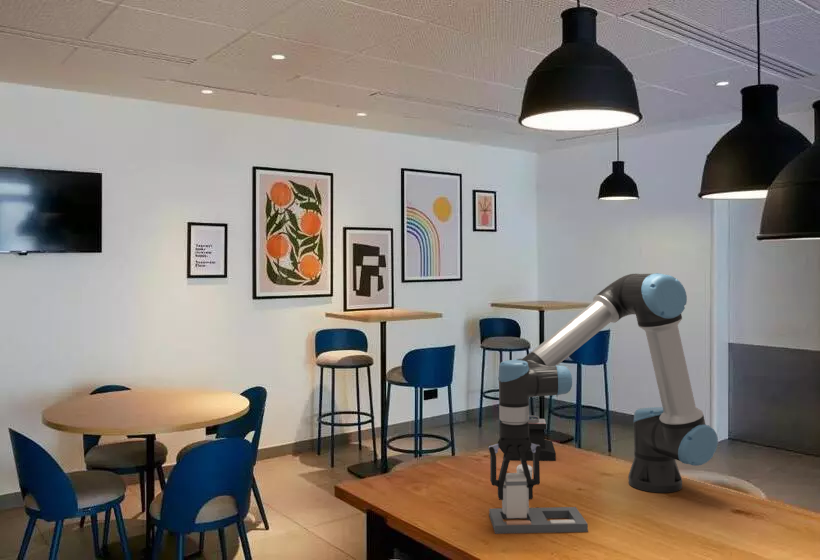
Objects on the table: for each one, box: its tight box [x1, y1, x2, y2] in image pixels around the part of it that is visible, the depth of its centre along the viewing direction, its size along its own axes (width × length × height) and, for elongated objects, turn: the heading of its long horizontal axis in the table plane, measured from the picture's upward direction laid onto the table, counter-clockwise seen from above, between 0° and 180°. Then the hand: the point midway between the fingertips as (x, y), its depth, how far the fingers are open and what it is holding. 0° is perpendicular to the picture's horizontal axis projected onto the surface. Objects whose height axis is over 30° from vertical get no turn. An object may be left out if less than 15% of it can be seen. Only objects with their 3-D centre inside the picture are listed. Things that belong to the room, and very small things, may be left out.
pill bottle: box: [516, 464, 533, 479], centre depth 197 cm, size 4×5×10 cm
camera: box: [510, 415, 557, 462], centre depth 240 cm, size 16×14×15 cm
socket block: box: [488, 506, 589, 535], centre depth 176 cm, size 23×12×2 cm, turn 90°
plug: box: [504, 472, 527, 518], centre depth 176 cm, size 5×5×10 cm
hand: (515, 511), depth 176 cm, fingers closed on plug, 5 cm apart
